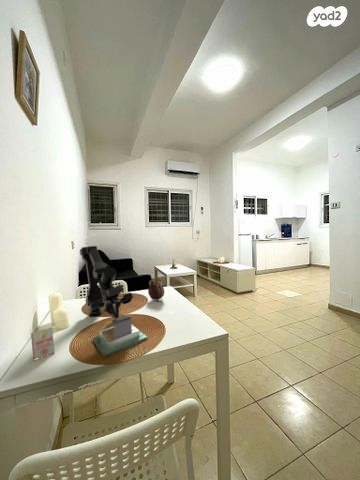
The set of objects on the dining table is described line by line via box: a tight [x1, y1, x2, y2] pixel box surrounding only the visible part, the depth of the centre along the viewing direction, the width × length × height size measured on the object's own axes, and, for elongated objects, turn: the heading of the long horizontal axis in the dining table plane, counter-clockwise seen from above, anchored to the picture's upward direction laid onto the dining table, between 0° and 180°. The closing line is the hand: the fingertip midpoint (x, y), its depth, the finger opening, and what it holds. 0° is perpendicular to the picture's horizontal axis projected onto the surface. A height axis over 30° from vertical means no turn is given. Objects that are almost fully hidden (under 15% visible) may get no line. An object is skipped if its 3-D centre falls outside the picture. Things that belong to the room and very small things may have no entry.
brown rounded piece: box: [147, 277, 165, 302], centre depth 130 cm, size 11×5×15 cm, turn 58°
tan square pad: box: [101, 312, 133, 330], centre depth 86 cm, size 1×11×9 cm
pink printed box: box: [30, 326, 55, 360], centre depth 77 cm, size 4×7×10 cm, turn 126°
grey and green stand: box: [92, 314, 148, 359], centre depth 85 cm, size 16×18×11 cm
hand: (117, 320), depth 85 cm, fingers closed, pressing on tan square pad
